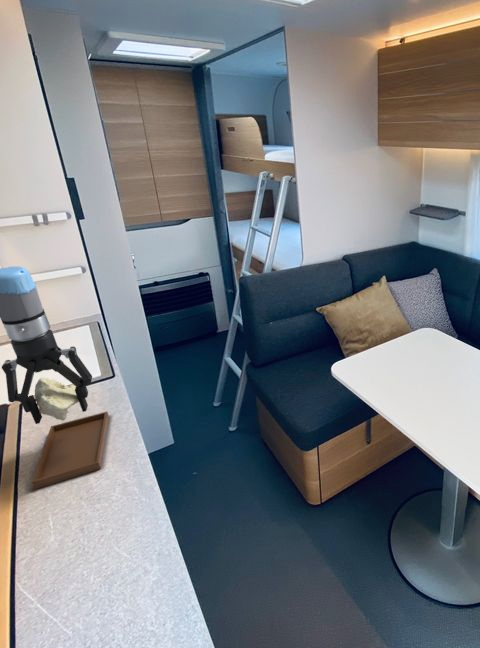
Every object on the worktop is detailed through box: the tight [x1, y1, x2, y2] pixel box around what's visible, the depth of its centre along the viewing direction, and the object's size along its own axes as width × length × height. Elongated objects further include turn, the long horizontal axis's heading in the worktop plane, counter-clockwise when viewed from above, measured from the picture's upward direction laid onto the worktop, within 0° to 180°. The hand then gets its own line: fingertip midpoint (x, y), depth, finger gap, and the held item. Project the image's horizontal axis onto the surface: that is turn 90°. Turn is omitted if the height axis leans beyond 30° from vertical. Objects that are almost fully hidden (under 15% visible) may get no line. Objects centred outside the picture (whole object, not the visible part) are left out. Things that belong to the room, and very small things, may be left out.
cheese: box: [34, 377, 79, 421], centre depth 101 cm, size 15×7×15 cm
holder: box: [30, 411, 110, 490], centre depth 105 cm, size 13×21×2 cm, turn 26°
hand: (62, 414), depth 101 cm, fingers closed on cheese, 9 cm apart
